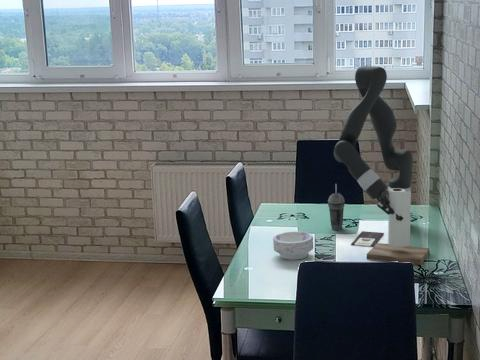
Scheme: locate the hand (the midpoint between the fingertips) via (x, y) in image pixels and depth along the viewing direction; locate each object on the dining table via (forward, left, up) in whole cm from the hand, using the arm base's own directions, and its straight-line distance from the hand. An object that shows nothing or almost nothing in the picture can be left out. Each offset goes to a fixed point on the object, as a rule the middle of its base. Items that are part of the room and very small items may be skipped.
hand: (403, 218), depth 260 cm
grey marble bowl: (+13, -39, -15) cm, 44 cm away
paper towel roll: (0, -2, -11) cm, 11 cm away
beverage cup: (-27, -36, -15) cm, 47 cm away
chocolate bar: (-16, -19, -15) cm, 29 cm away
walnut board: (0, -2, -15) cm, 15 cm away
